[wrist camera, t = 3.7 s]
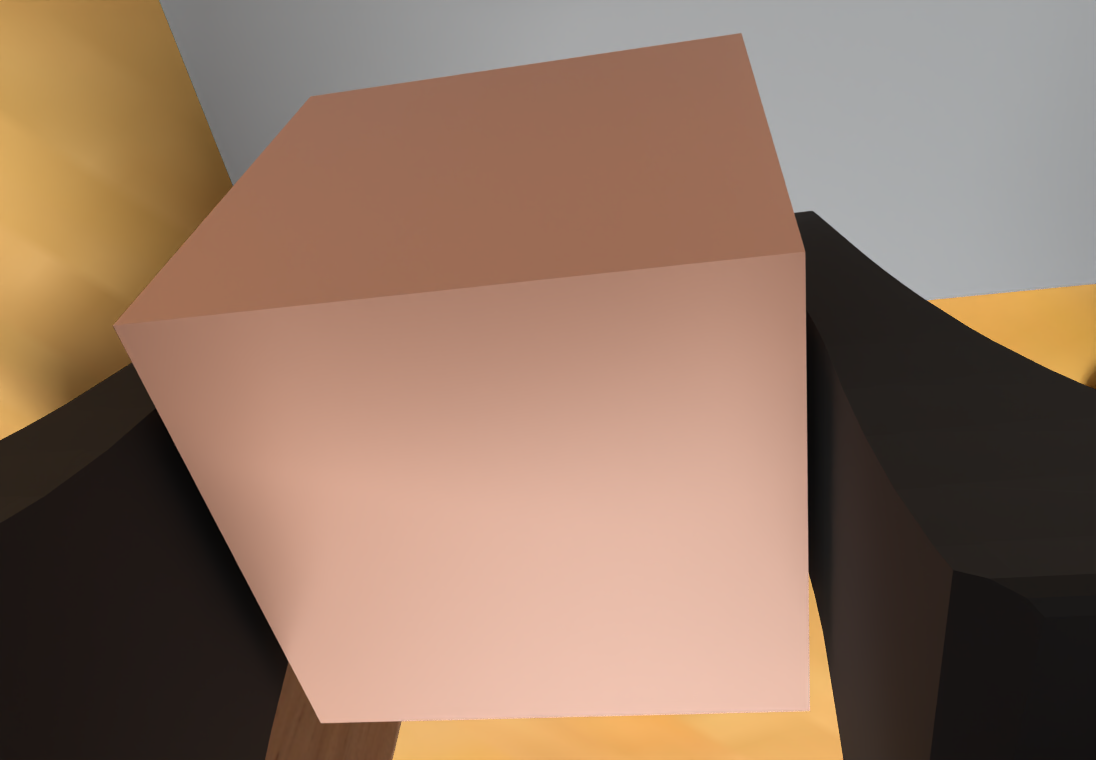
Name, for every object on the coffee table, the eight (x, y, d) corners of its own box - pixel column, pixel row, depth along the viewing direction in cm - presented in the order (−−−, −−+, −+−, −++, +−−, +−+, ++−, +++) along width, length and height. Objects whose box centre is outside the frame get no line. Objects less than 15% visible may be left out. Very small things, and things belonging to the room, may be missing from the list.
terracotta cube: (758, 397, 13) (809, 710, 9) (415, 424, 14) (321, 722, 10) (740, 32, 10) (804, 251, 6) (310, 96, 11) (111, 324, 7)
